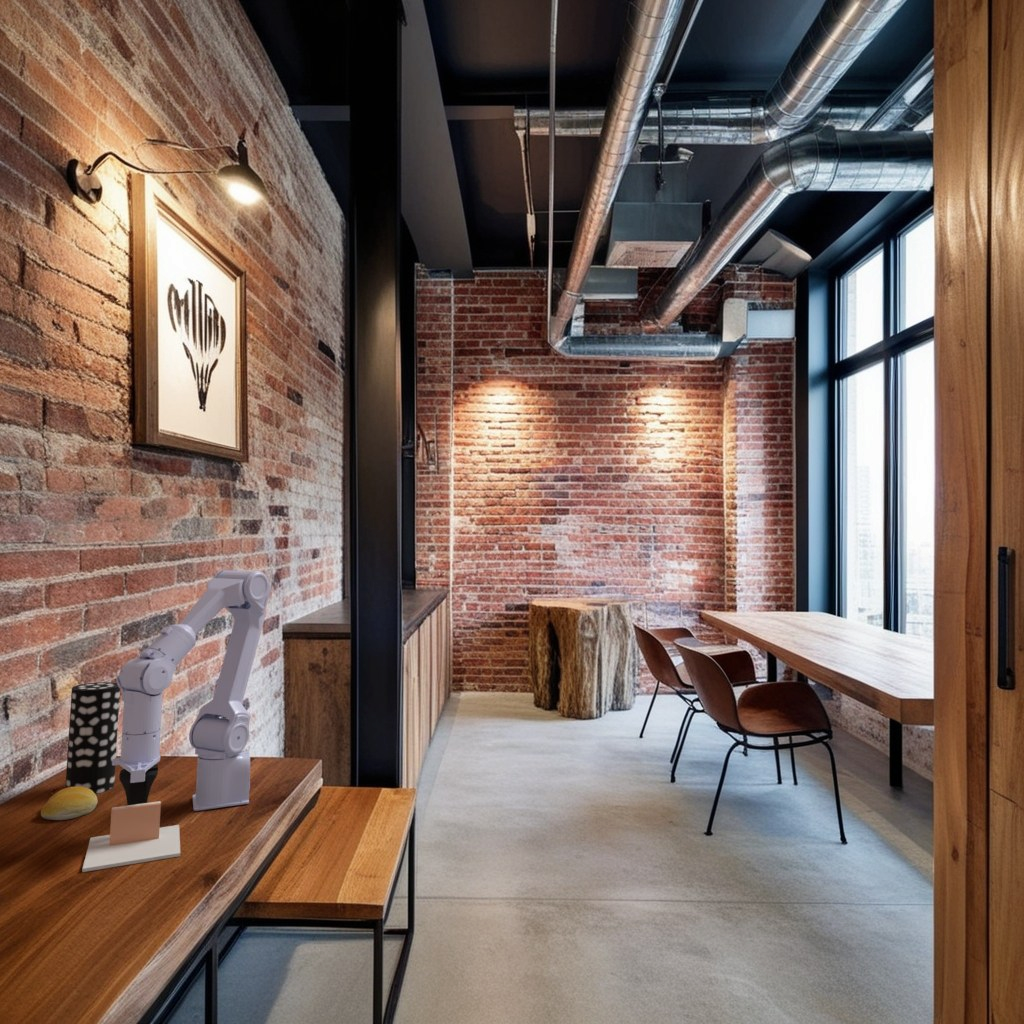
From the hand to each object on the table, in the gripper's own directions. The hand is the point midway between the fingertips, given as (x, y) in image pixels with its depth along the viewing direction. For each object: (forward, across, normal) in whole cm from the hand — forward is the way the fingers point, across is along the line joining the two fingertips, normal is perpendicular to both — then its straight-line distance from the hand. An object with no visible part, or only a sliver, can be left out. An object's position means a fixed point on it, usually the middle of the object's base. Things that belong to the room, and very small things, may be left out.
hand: (136, 813), depth 113 cm
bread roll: (+4, -17, -11) cm, 20 cm away
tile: (+3, +3, 0) cm, 5 cm away
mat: (+4, +5, 0) cm, 6 cm away
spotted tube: (+4, -29, -9) cm, 30 cm away
